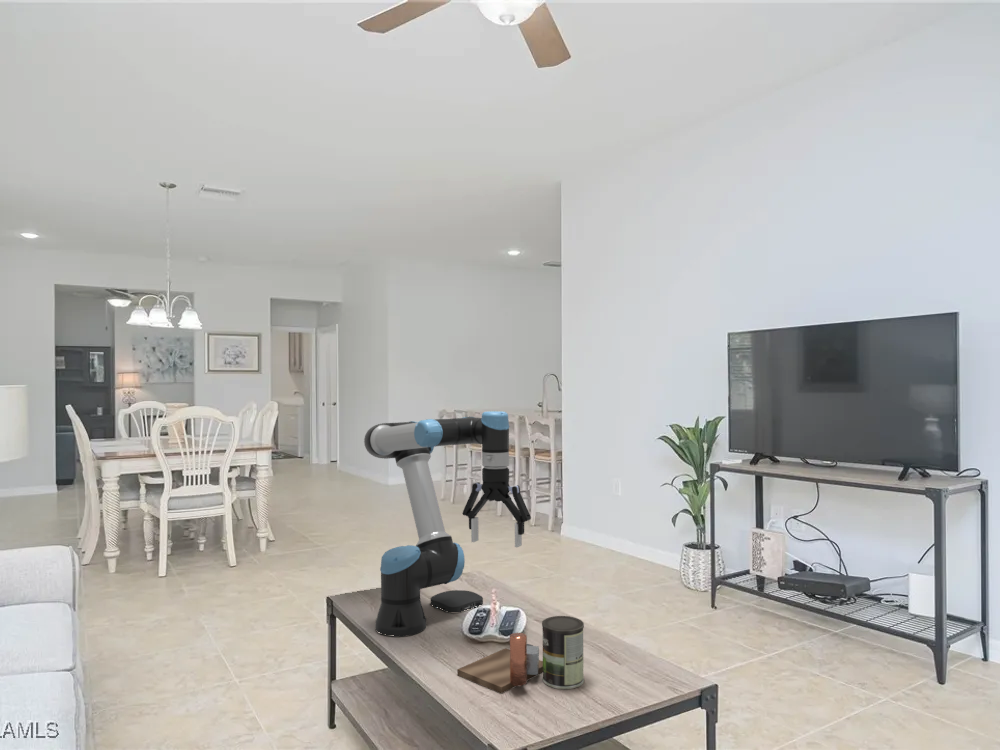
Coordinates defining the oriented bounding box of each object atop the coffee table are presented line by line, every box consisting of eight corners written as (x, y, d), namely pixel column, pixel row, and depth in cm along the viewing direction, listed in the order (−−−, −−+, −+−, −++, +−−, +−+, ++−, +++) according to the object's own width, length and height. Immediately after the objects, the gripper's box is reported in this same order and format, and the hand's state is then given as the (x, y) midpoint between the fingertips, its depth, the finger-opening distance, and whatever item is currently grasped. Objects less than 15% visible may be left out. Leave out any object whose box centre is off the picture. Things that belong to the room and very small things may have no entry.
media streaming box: (460, 595, 234) (459, 586, 234) (487, 605, 223) (487, 596, 223) (425, 604, 224) (425, 595, 224) (453, 616, 213) (453, 606, 213)
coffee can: (543, 689, 161) (542, 630, 161) (541, 671, 171) (541, 615, 172) (586, 689, 161) (585, 630, 161) (582, 671, 171) (581, 615, 171)
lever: (513, 654, 177) (513, 612, 177) (540, 655, 176) (540, 613, 176) (505, 685, 159) (504, 638, 159) (535, 686, 158) (535, 639, 158)
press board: (457, 675, 169) (457, 668, 169) (505, 653, 182) (505, 647, 182) (501, 693, 159) (501, 686, 159) (548, 669, 172) (548, 662, 172)
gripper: (450, 466, 190) (450, 541, 189) (530, 471, 178) (531, 551, 178) (463, 463, 196) (464, 536, 196) (542, 467, 185) (542, 545, 184)
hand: (496, 543), depth 187 cm, fingers open, 13 cm apart
